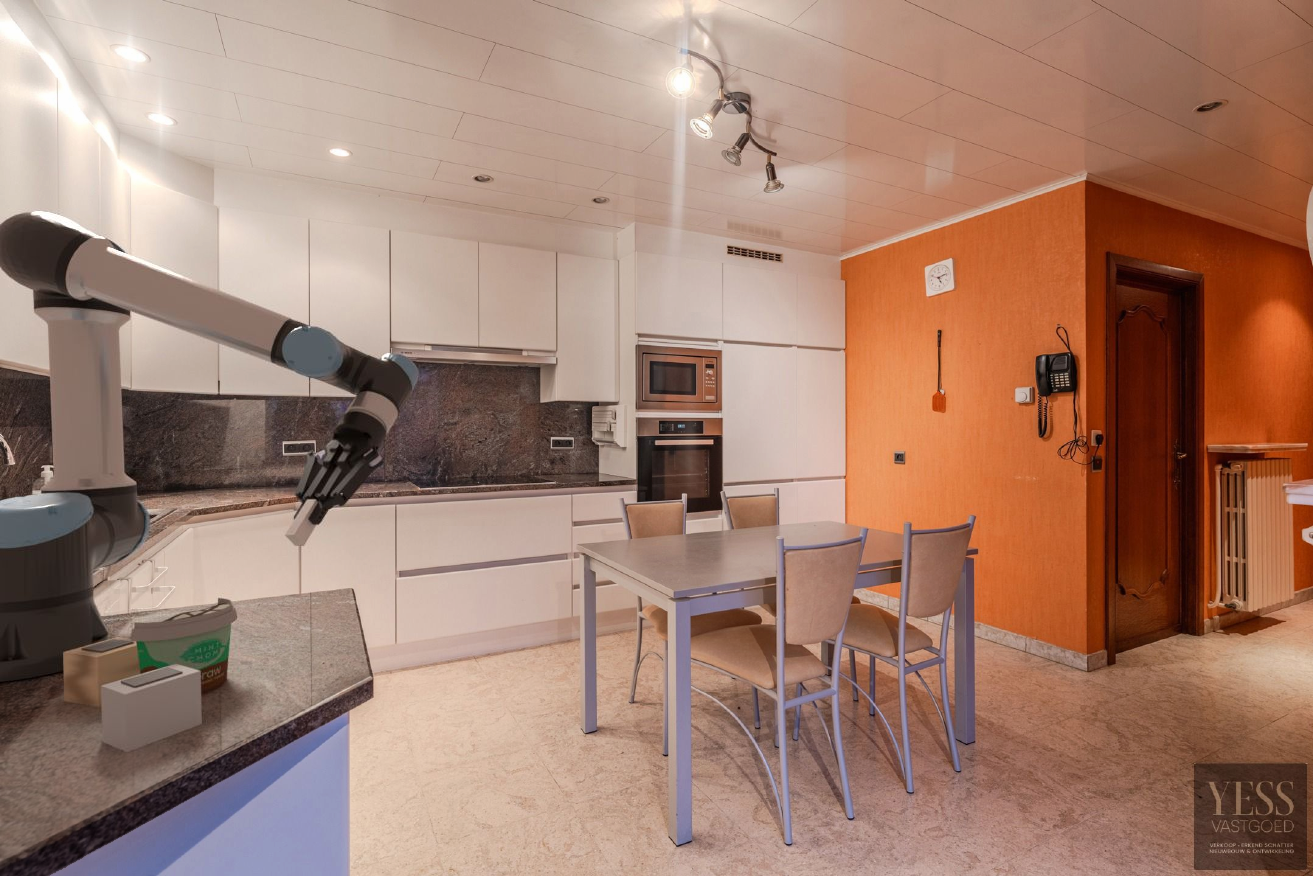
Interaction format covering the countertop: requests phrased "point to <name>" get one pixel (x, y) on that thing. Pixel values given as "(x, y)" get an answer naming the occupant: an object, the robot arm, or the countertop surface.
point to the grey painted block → (150, 706)
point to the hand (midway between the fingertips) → (294, 540)
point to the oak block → (98, 668)
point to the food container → (189, 643)
